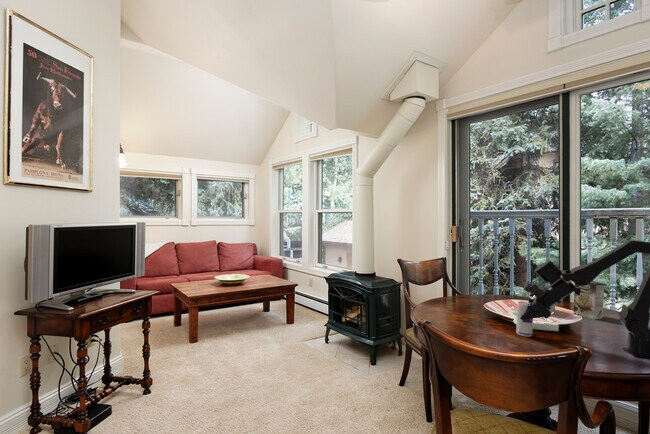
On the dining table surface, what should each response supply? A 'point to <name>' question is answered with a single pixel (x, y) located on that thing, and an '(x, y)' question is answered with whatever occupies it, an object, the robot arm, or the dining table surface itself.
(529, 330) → the energy drink
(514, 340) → the dining table surface
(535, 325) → the tray
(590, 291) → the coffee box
